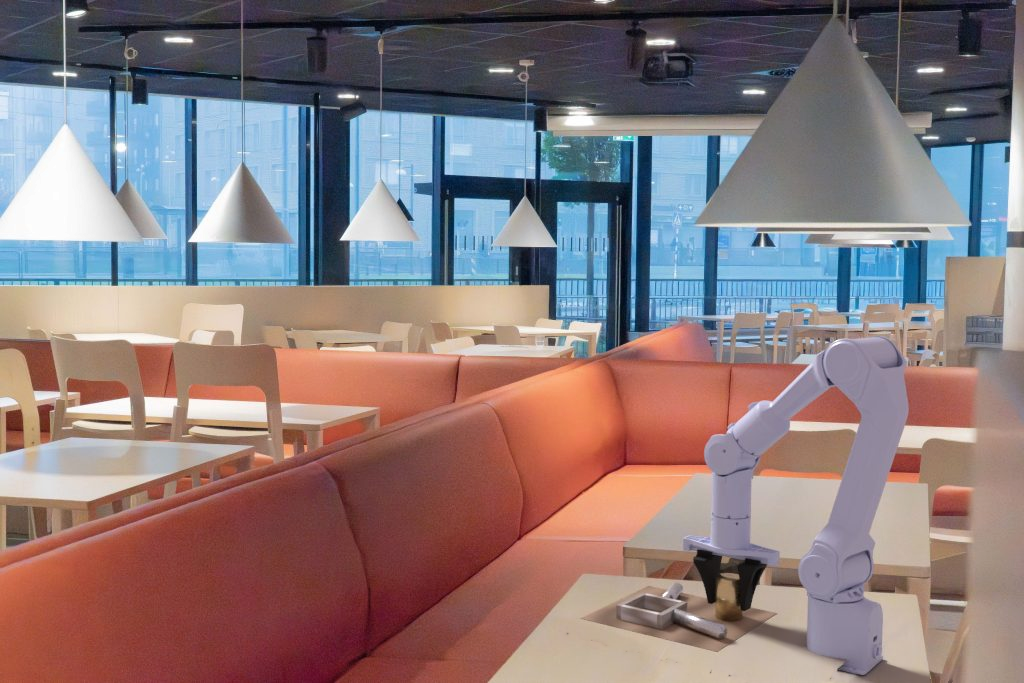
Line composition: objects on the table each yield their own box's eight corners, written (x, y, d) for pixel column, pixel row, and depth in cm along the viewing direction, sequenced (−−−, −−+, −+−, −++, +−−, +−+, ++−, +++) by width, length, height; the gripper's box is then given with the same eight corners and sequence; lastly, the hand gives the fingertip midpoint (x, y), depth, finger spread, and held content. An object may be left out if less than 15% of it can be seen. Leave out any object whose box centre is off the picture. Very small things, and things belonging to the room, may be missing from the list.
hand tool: (737, 568, 190) (738, 542, 189) (760, 571, 188) (760, 545, 187) (698, 596, 174) (699, 568, 173) (722, 600, 171) (722, 572, 171)
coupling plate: (777, 622, 160) (777, 599, 160) (716, 662, 144) (717, 637, 144) (648, 594, 173) (648, 573, 173) (580, 628, 157) (580, 604, 157)
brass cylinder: (747, 615, 158) (748, 576, 158) (735, 623, 155) (736, 582, 155) (722, 610, 161) (723, 571, 160) (710, 617, 158) (711, 577, 157)
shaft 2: (727, 637, 149) (727, 623, 149) (717, 641, 148) (717, 626, 148) (679, 620, 156) (679, 607, 156) (669, 623, 155) (670, 610, 155)
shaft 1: (670, 594, 169) (670, 581, 168) (683, 595, 168) (683, 583, 168) (657, 609, 161) (658, 596, 161) (670, 611, 160) (671, 598, 160)
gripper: (788, 516, 156) (786, 608, 157) (698, 503, 164) (697, 589, 165) (768, 526, 150) (766, 620, 151) (676, 511, 159) (675, 601, 160)
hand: (729, 605), depth 158 cm, fingers open, 5 cm apart
